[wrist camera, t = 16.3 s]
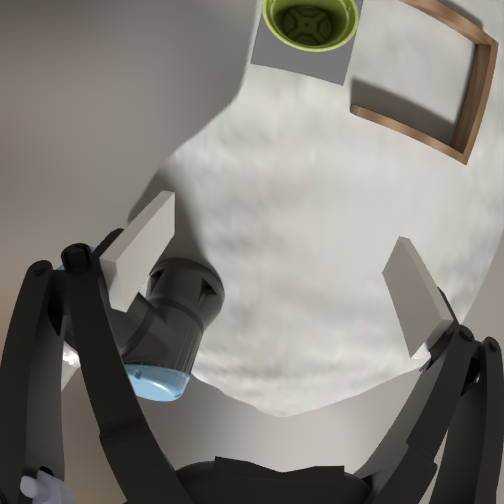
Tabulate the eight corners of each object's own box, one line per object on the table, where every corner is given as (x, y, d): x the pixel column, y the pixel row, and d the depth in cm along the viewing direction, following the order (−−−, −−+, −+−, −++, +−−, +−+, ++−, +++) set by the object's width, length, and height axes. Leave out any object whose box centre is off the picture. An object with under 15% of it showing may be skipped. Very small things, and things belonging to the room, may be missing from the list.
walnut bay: (349, 111, 31) (356, 115, 28) (380, -15, 19) (388, -23, 16) (453, 156, 31) (466, 165, 28) (483, 43, 19) (498, 43, 16)
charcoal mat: (250, 63, 30) (250, 63, 29) (271, -25, 21) (271, -25, 21) (342, 85, 29) (342, 85, 29) (363, -3, 21) (363, -3, 21)
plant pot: (344, 0, 22) (358, -20, 15) (343, 62, 28) (358, 57, 21) (270, -6, 23) (262, -29, 16) (269, 55, 29) (261, 48, 22)
